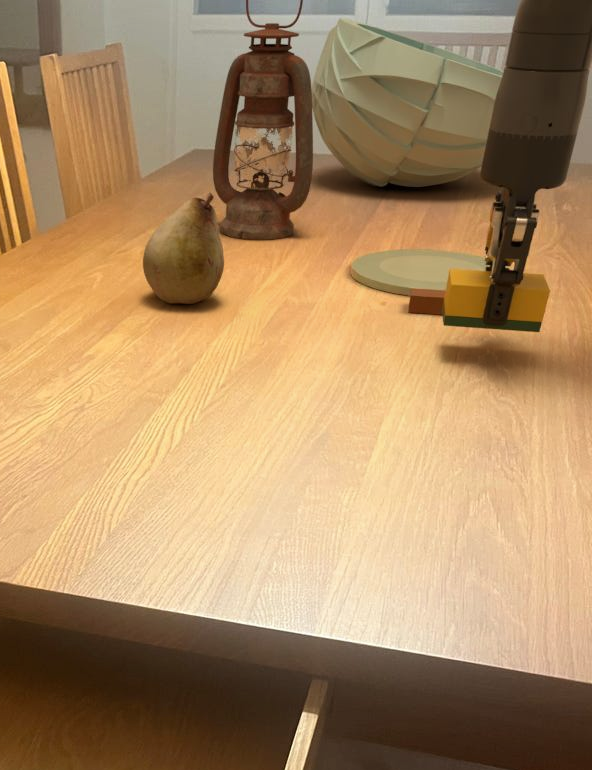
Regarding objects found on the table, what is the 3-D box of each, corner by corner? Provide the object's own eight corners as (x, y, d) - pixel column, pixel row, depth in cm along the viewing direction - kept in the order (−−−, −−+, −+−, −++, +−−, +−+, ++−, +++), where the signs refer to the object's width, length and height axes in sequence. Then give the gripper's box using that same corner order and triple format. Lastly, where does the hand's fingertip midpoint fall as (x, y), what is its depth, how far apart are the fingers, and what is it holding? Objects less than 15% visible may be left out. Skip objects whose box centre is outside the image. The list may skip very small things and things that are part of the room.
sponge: (533, 314, 98) (543, 274, 96) (539, 332, 93) (550, 290, 91) (441, 308, 100) (449, 268, 97) (443, 325, 95) (451, 284, 93)
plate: (506, 261, 129) (507, 253, 128) (518, 303, 113) (520, 294, 113) (354, 253, 133) (355, 245, 133) (346, 292, 117) (347, 284, 117)
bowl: (455, 195, 189) (512, 72, 176) (485, 239, 161) (555, 96, 147) (287, 140, 187) (331, 11, 174) (287, 174, 159) (340, 23, 146)
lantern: (285, 246, 137) (313, -58, 116) (191, 230, 145) (202, -56, 125) (322, 231, 144) (355, -57, 123) (230, 217, 152) (247, -55, 132)
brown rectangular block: (448, 308, 112) (451, 290, 111) (448, 315, 110) (452, 297, 109) (408, 305, 113) (411, 287, 112) (408, 312, 111) (411, 295, 110)
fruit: (231, 310, 112) (238, 199, 105) (152, 315, 110) (155, 203, 103) (206, 286, 120) (212, 181, 113) (133, 291, 118) (134, 185, 112)
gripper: (589, 139, 80) (538, 340, 90) (568, 117, 91) (524, 297, 101) (495, 136, 82) (454, 333, 91) (485, 114, 93) (450, 292, 103)
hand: (491, 313), depth 96 cm, fingers closed on sponge, 6 cm apart
